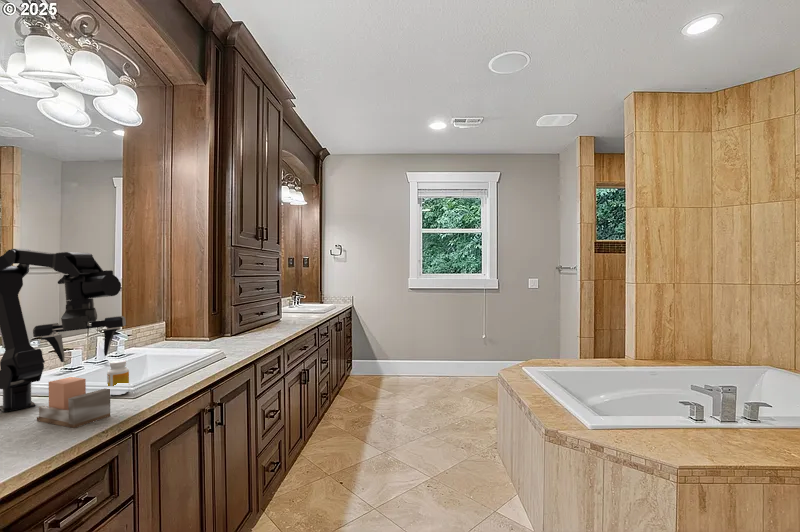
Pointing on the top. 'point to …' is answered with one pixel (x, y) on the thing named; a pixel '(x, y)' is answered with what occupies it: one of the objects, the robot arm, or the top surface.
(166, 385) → the top surface
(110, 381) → the supplement bottle
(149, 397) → the top surface
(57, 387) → the peach knobbed cube
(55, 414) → the rail
